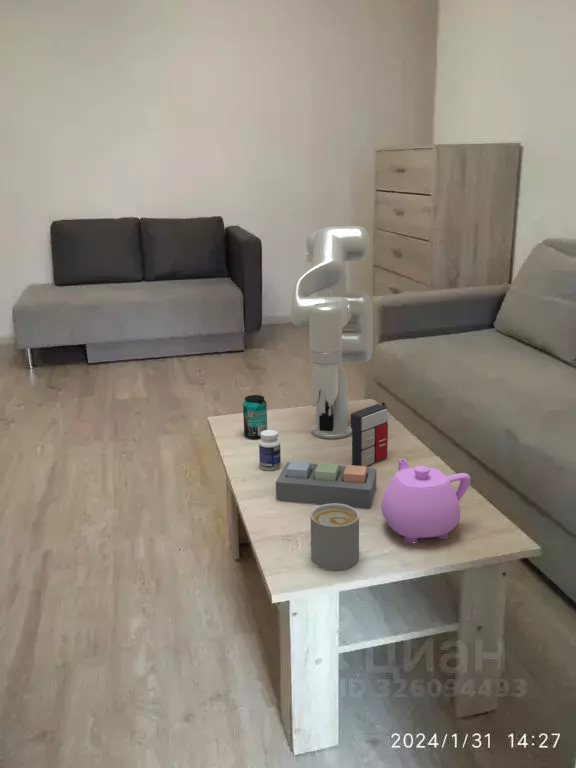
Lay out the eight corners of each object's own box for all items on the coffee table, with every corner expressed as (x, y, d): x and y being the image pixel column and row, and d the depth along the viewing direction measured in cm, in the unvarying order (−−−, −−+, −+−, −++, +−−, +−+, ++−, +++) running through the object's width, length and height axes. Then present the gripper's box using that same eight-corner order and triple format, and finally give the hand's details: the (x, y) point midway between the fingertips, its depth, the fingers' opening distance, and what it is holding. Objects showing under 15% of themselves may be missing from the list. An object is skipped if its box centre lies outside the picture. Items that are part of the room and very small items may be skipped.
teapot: (444, 499, 171) (447, 441, 167) (483, 540, 153) (488, 477, 148) (367, 509, 168) (368, 450, 163) (397, 553, 149) (399, 488, 144)
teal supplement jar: (249, 430, 218) (248, 393, 214) (270, 432, 216) (269, 395, 212) (240, 438, 212) (238, 400, 208) (262, 441, 209) (260, 402, 206)
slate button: (291, 478, 180) (291, 460, 178) (311, 480, 178) (310, 462, 177) (287, 487, 175) (286, 469, 173) (307, 489, 174) (306, 470, 172)
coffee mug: (366, 565, 145) (366, 521, 142) (320, 574, 142) (319, 530, 139) (342, 534, 157) (342, 493, 154) (299, 541, 154) (298, 500, 151)
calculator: (361, 470, 188) (362, 417, 184) (350, 465, 192) (350, 413, 187) (389, 458, 195) (390, 407, 191) (377, 453, 198) (378, 403, 194)
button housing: (287, 479, 184) (287, 461, 182) (376, 486, 179) (376, 468, 177) (276, 500, 173) (275, 482, 171) (370, 508, 168) (370, 489, 166)
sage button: (319, 481, 178) (318, 462, 176) (338, 482, 177) (338, 464, 175) (315, 489, 173) (314, 471, 172) (335, 491, 172) (335, 472, 171)
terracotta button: (346, 483, 176) (346, 464, 175) (366, 484, 175) (366, 466, 174) (343, 492, 172) (343, 473, 170) (364, 494, 171) (364, 475, 169)
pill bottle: (278, 471, 189) (277, 437, 186) (257, 470, 190) (256, 435, 187) (282, 463, 194) (281, 429, 191) (262, 461, 195) (261, 428, 192)
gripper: (316, 347, 173) (317, 418, 178) (303, 364, 159) (304, 440, 164) (346, 348, 171) (346, 420, 177) (336, 365, 157) (336, 442, 163)
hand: (326, 429), depth 170 cm, fingers closed
